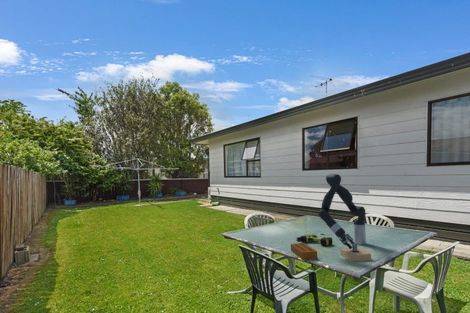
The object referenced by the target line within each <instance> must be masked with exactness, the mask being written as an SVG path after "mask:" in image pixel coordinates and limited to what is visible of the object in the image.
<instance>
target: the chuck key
mask: <svg viewBox="0 0 470 313" xmlns="http://www.w3.org/2000/svg"><path fill="white" fill-rule="evenodd" d="M351 246H352V250H353V252H358V250H357V248H358V244H356V243H355V242H354V243H353V244H351Z"/></svg>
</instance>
